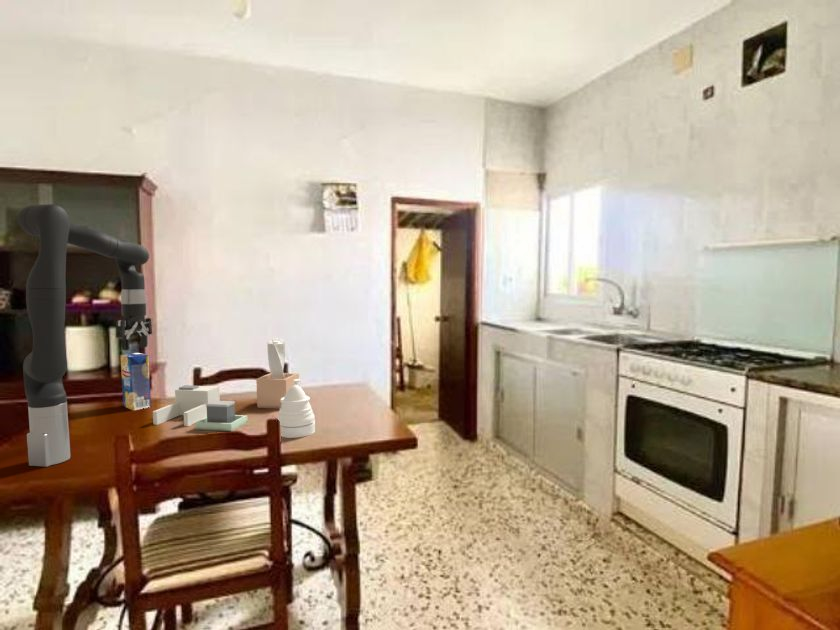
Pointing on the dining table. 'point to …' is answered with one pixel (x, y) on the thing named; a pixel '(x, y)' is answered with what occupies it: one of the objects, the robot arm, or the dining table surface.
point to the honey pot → (296, 413)
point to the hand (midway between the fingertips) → (135, 348)
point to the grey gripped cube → (221, 411)
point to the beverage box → (135, 381)
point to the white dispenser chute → (188, 404)
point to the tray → (221, 424)
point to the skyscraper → (276, 358)
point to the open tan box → (273, 390)
